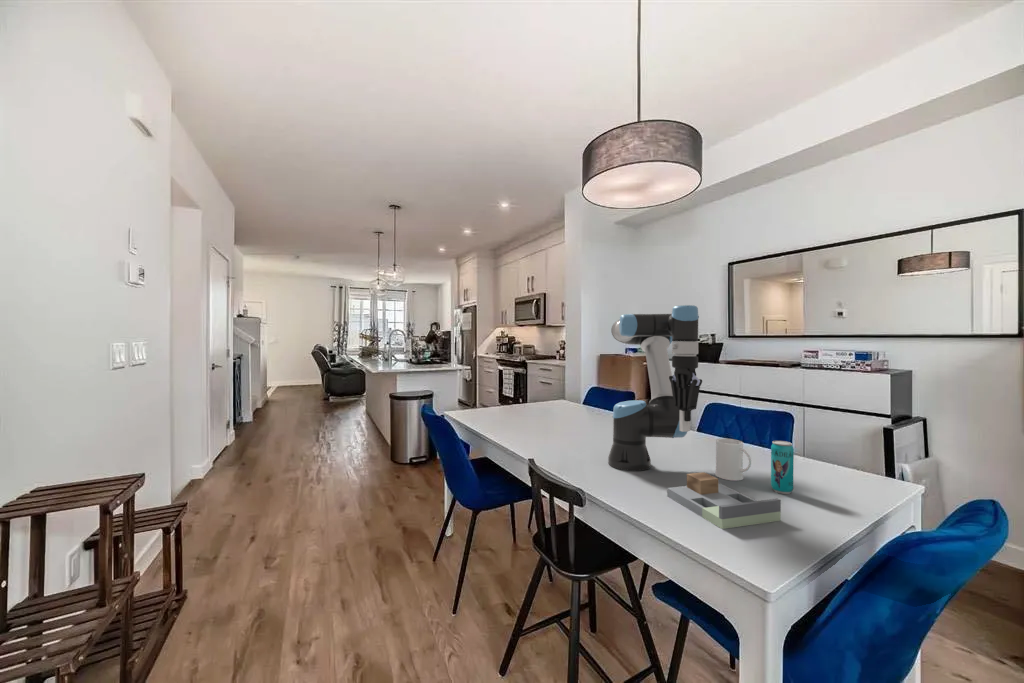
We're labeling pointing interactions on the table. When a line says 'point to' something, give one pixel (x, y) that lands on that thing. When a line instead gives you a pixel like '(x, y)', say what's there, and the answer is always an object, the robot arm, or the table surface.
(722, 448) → the mug
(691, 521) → the table surface
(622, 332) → the robot arm
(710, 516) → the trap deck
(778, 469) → the beverage can
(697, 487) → the block
